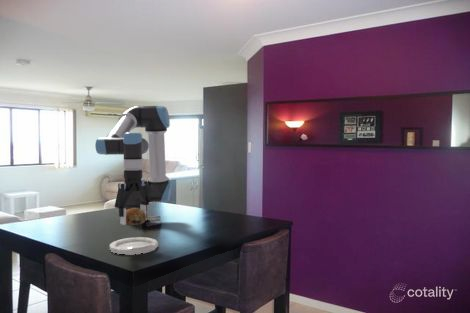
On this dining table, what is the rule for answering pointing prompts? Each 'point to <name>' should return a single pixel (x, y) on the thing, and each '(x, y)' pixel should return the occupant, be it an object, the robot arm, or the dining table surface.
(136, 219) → the bread roll
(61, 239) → the dining table surface
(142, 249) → the dish
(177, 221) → the dining table surface
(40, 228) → the dining table surface
